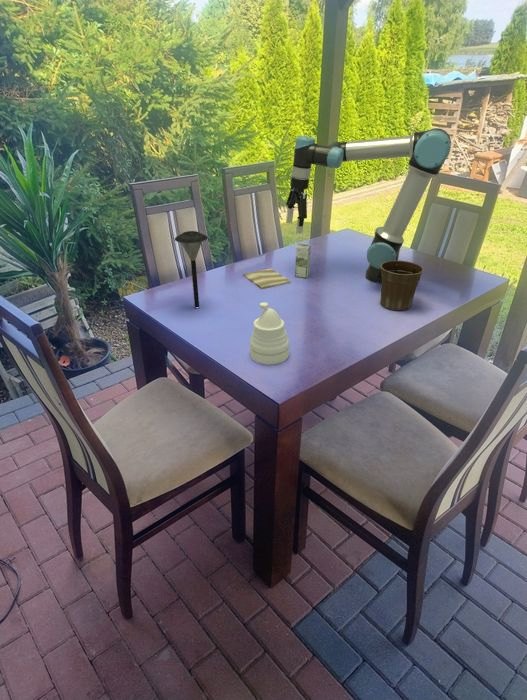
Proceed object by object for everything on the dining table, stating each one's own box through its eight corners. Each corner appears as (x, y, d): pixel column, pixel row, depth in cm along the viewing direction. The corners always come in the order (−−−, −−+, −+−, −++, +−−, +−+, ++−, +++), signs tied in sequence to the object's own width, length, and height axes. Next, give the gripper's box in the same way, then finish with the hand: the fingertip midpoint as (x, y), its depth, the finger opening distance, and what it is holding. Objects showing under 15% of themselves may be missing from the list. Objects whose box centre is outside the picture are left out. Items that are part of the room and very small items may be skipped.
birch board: (290, 282, 200) (290, 280, 200) (261, 289, 194) (261, 287, 194) (270, 270, 214) (270, 268, 213) (243, 275, 208) (243, 273, 207)
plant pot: (384, 293, 190) (390, 257, 182) (421, 302, 182) (429, 265, 174) (368, 306, 179) (373, 268, 171) (407, 317, 171) (415, 277, 163)
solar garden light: (205, 316, 172) (199, 239, 156) (176, 312, 175) (167, 236, 159) (217, 303, 182) (212, 230, 166) (189, 299, 185) (183, 227, 169)
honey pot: (244, 360, 144) (242, 310, 135) (258, 341, 155) (258, 294, 145) (281, 367, 140) (282, 317, 131) (293, 348, 151) (295, 300, 142)
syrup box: (309, 274, 210) (311, 244, 202) (306, 278, 205) (308, 247, 197) (298, 272, 211) (299, 242, 204) (294, 277, 206) (295, 246, 199)
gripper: (282, 170, 193) (277, 219, 204) (302, 184, 173) (294, 237, 185) (298, 171, 195) (292, 219, 207) (319, 185, 175) (311, 237, 187)
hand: (293, 228), depth 196 cm, fingers open, 13 cm apart
